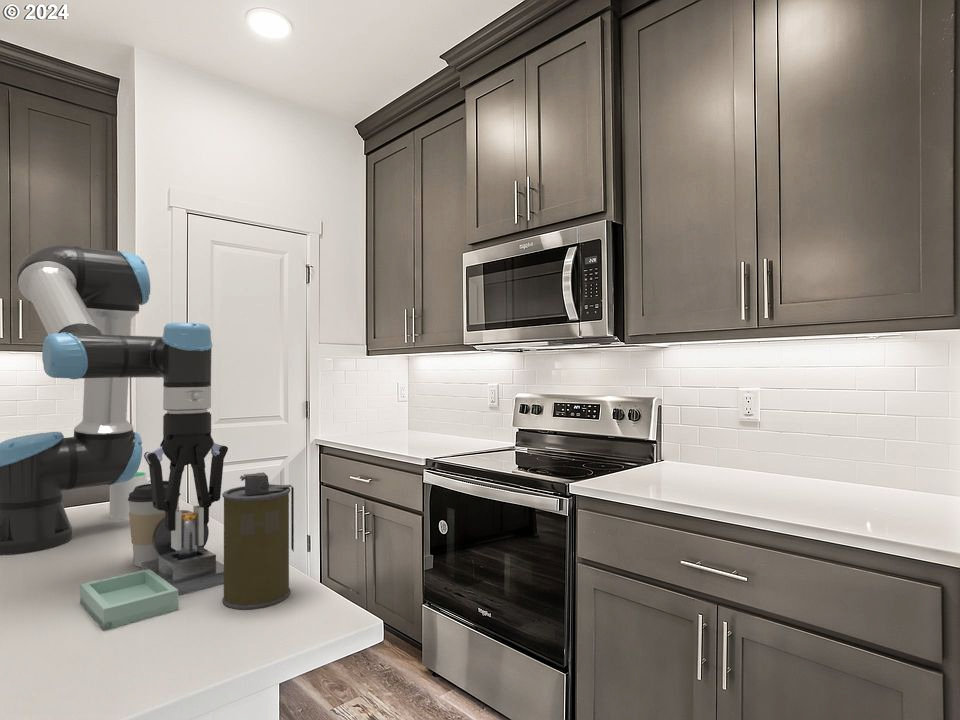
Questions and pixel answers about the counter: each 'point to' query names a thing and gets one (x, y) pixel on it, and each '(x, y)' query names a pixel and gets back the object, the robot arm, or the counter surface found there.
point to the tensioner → (184, 563)
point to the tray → (128, 598)
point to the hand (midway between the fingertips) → (187, 545)
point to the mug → (124, 495)
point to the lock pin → (188, 536)
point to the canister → (257, 543)
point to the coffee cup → (144, 522)
